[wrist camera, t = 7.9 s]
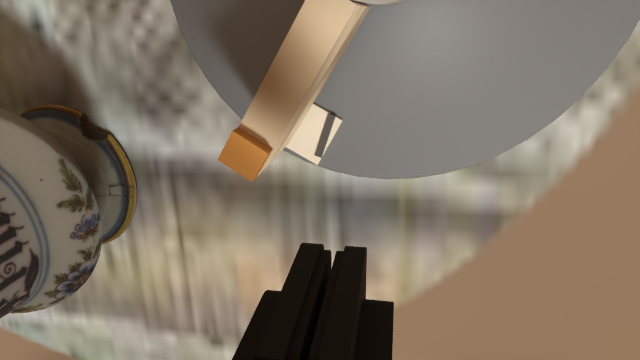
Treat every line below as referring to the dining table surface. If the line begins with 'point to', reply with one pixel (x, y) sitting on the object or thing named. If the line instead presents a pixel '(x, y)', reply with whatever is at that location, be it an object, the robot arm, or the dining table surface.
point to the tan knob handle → (294, 81)
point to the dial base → (419, 75)
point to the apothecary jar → (57, 204)
